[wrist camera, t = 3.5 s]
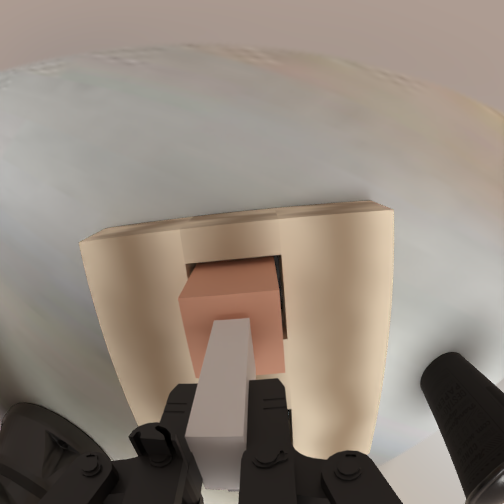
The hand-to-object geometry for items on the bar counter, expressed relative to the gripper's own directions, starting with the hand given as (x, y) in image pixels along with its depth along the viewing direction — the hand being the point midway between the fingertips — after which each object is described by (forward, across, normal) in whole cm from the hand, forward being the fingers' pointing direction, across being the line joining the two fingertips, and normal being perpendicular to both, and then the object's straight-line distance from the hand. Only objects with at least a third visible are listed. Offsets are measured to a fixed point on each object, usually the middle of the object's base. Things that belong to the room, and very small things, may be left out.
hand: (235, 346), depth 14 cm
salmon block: (+6, 0, 0) cm, 6 cm away
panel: (+9, 0, -6) cm, 10 cm away
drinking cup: (+9, +17, -12) cm, 22 cm away
